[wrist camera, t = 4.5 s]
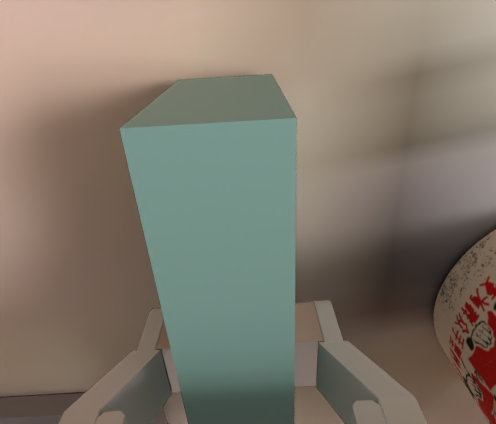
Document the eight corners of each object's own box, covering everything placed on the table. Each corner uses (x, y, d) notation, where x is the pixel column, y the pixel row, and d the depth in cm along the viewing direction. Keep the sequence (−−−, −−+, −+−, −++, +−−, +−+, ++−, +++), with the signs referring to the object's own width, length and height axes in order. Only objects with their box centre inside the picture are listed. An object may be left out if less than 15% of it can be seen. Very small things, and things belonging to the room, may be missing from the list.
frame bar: (271, 74, 9) (296, 118, 5) (279, 401, 16) (293, 546, 11) (178, 80, 9) (119, 128, 5) (225, 404, 16) (217, 549, 12)
